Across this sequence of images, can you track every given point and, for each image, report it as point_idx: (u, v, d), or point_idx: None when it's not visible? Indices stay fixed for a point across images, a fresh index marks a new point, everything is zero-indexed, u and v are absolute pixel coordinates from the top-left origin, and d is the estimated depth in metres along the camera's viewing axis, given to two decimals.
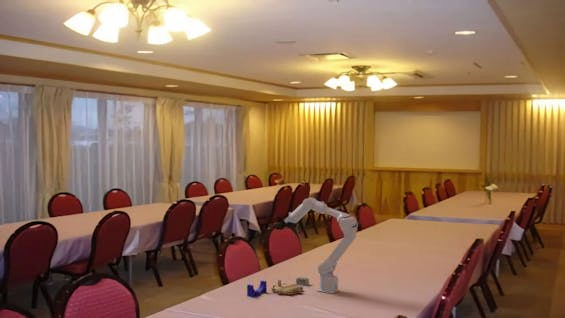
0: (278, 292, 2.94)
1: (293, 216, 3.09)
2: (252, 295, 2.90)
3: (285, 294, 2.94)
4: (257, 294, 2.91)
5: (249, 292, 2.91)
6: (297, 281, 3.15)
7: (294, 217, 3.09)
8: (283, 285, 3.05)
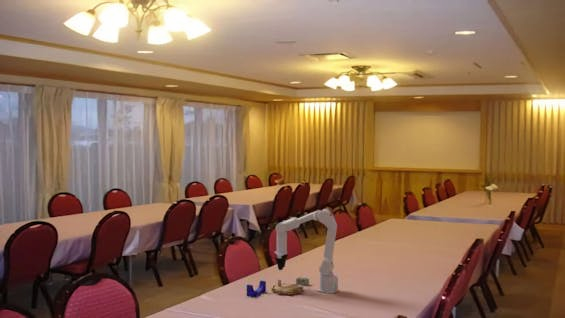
0: (278, 292, 2.94)
1: (280, 249, 3.06)
2: (251, 295, 2.90)
3: (285, 294, 2.94)
4: (256, 294, 2.92)
5: (249, 292, 2.91)
6: (297, 281, 3.15)
7: (282, 249, 3.06)
8: (283, 285, 3.05)
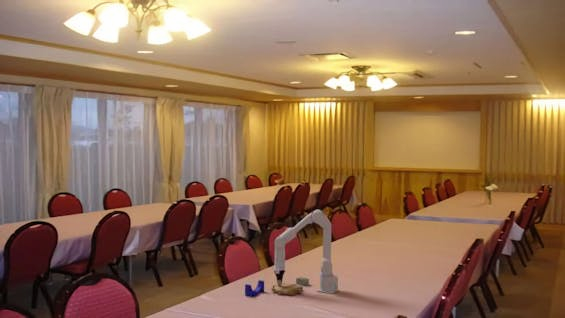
0: (279, 292, 2.93)
1: (278, 264, 3.01)
2: (250, 295, 2.90)
3: (285, 294, 2.94)
4: (255, 294, 2.92)
5: (247, 292, 2.91)
6: (297, 281, 3.15)
7: (280, 264, 3.01)
8: (283, 285, 3.05)
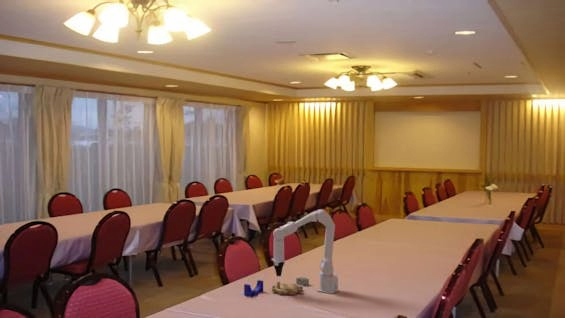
0: (292, 293, 2.93)
1: (277, 256, 2.97)
2: (249, 295, 2.90)
3: (285, 294, 2.94)
4: (254, 294, 2.92)
5: (246, 292, 2.91)
6: (297, 281, 3.15)
7: (279, 256, 2.97)
8: None
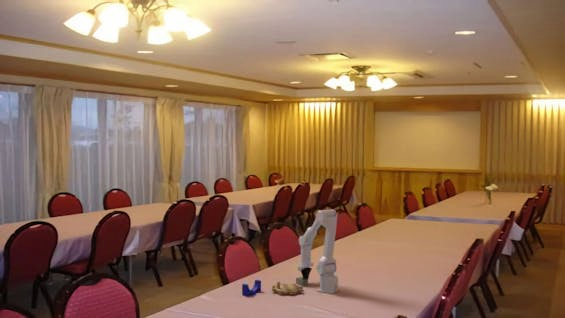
0: (292, 293, 2.93)
1: (303, 262, 3.15)
2: (247, 294, 2.91)
3: (285, 294, 2.94)
4: (252, 293, 2.93)
5: (245, 291, 2.92)
6: (296, 280, 3.15)
7: (304, 262, 3.15)
8: None
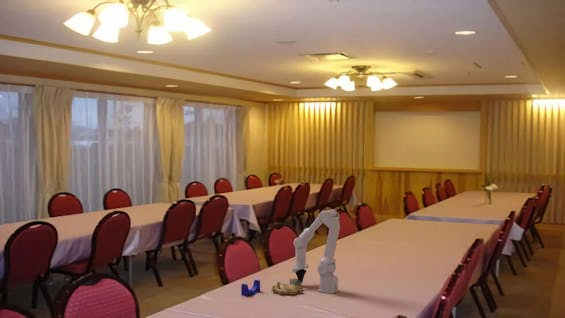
0: (292, 293, 2.93)
1: (297, 264, 3.10)
2: (246, 294, 2.91)
3: (285, 294, 2.94)
4: (251, 293, 2.93)
5: (244, 291, 2.92)
6: (290, 282, 3.12)
7: (299, 264, 3.10)
8: None
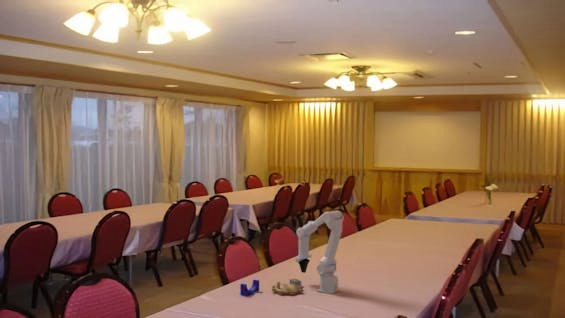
0: (292, 293, 2.93)
1: (301, 253, 3.13)
2: (245, 294, 2.91)
3: (285, 294, 2.94)
4: (250, 293, 2.93)
5: (243, 291, 2.92)
6: (290, 282, 3.12)
7: (302, 253, 3.13)
8: None
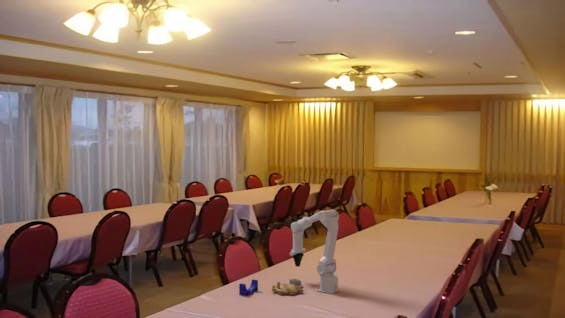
0: (292, 293, 2.93)
1: (295, 247, 3.16)
2: (244, 294, 2.92)
3: (285, 294, 2.94)
4: (249, 293, 2.94)
5: (242, 291, 2.93)
6: (290, 282, 3.12)
7: (296, 247, 3.16)
8: None
